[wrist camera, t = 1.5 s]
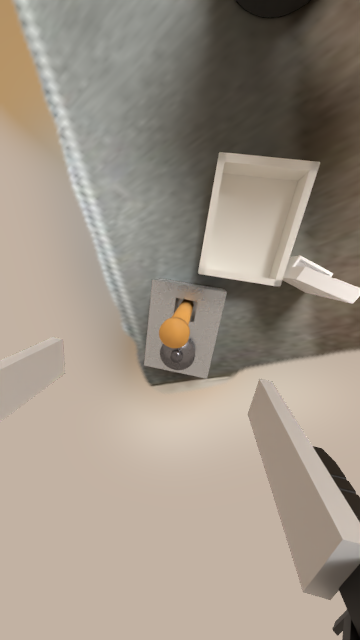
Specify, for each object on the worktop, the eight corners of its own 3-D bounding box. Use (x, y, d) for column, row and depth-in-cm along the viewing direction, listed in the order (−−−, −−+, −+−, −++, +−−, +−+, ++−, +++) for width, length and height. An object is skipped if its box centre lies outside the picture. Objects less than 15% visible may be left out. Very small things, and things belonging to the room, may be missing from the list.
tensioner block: (159, 278, 32) (147, 280, 25) (223, 288, 31) (229, 294, 24) (151, 353, 37) (139, 373, 30) (206, 364, 36) (207, 388, 29)
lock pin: (180, 295, 32) (160, 317, 18) (197, 298, 32) (191, 322, 17) (177, 311, 33) (157, 345, 19) (194, 314, 32) (186, 350, 18)
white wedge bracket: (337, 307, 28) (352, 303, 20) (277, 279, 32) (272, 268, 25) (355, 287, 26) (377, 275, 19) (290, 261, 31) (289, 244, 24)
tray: (217, 166, 26) (219, 151, 23) (305, 175, 25) (320, 162, 22) (198, 273, 31) (197, 273, 28) (271, 284, 30) (280, 286, 27)
